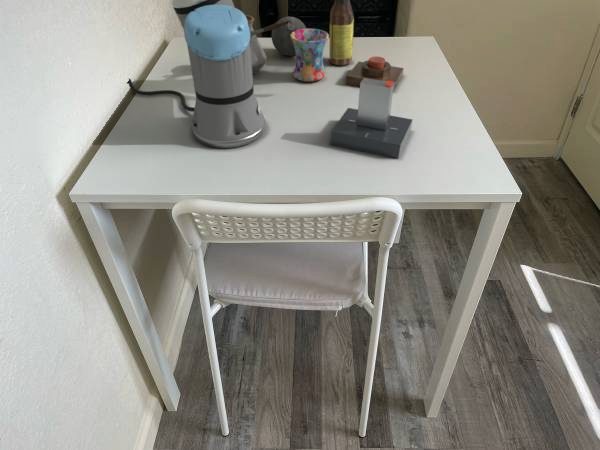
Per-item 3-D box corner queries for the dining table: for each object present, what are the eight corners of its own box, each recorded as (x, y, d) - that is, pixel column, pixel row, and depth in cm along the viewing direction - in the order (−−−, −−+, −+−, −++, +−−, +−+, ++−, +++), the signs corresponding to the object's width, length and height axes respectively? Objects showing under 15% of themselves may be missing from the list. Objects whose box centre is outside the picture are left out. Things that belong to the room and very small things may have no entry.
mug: (314, 87, 113) (315, 44, 106) (284, 79, 117) (282, 36, 110) (338, 71, 120) (341, 29, 113) (309, 63, 124) (309, 23, 117)
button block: (346, 84, 114) (347, 68, 112) (357, 69, 121) (359, 54, 119) (393, 92, 111) (395, 76, 108) (402, 76, 118) (404, 61, 115)
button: (366, 68, 113) (366, 61, 112) (370, 62, 116) (371, 55, 114) (382, 70, 112) (382, 63, 110) (386, 64, 114) (386, 57, 113)
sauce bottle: (356, 63, 124) (362, -17, 111) (338, 68, 122) (342, -13, 109) (341, 55, 128) (345, -23, 115) (323, 60, 126) (325, -19, 113)
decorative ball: (313, 51, 131) (314, 15, 124) (296, 63, 124) (295, 25, 118) (284, 45, 135) (283, 9, 128) (265, 57, 128) (263, 19, 121)
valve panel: (330, 144, 93) (331, 130, 91) (347, 120, 100) (348, 106, 98) (398, 158, 89) (400, 144, 87) (410, 132, 96) (412, 118, 94)
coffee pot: (214, 71, 121) (206, 11, 111) (242, 57, 128) (237, 0, 118) (280, 91, 111) (278, 27, 102) (306, 75, 119) (306, 14, 109)
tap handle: (356, 125, 92) (360, 81, 86) (360, 119, 94) (364, 76, 88) (385, 130, 91) (391, 86, 85) (388, 124, 92) (394, 81, 86)
